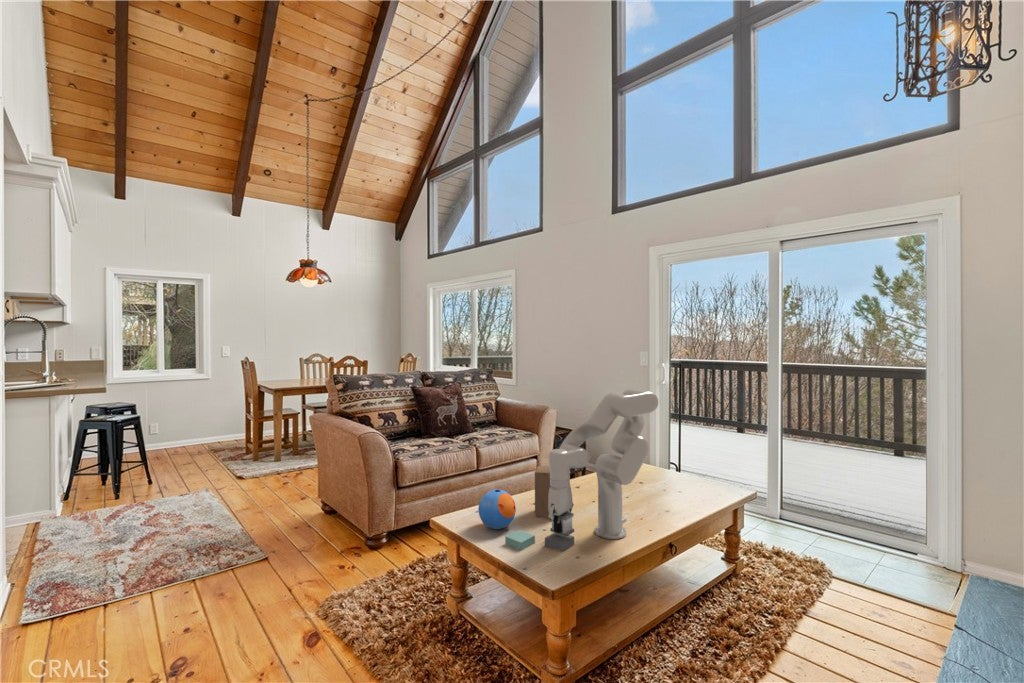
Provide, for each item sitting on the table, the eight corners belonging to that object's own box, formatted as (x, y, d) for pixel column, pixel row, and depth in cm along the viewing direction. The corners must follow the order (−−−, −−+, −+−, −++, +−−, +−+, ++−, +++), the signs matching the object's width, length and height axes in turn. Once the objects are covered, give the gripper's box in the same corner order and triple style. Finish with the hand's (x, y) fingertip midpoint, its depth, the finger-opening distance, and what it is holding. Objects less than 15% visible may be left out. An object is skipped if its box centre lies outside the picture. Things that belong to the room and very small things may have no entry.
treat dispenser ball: (495, 517, 206) (495, 482, 205) (523, 526, 196) (523, 489, 196) (470, 528, 194) (470, 491, 193) (499, 538, 184) (498, 500, 184)
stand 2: (557, 538, 184) (557, 530, 184) (574, 544, 179) (574, 536, 179) (544, 545, 178) (544, 537, 178) (561, 551, 173) (561, 543, 173)
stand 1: (519, 537, 185) (519, 529, 185) (534, 543, 180) (534, 535, 180) (505, 544, 179) (505, 536, 179) (521, 550, 174) (521, 542, 174)
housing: (558, 526, 183) (557, 508, 183) (574, 531, 178) (573, 513, 178) (550, 531, 179) (549, 513, 179) (566, 536, 174) (565, 518, 174)
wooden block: (557, 519, 203) (557, 473, 202) (534, 517, 205) (534, 472, 204) (559, 510, 213) (559, 466, 212) (538, 509, 215) (537, 465, 214)
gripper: (565, 474, 187) (567, 519, 188) (538, 487, 174) (540, 535, 175) (580, 477, 182) (583, 523, 183) (554, 491, 169) (556, 540, 170)
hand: (562, 528), depth 179 cm, fingers closed on housing, 5 cm apart
